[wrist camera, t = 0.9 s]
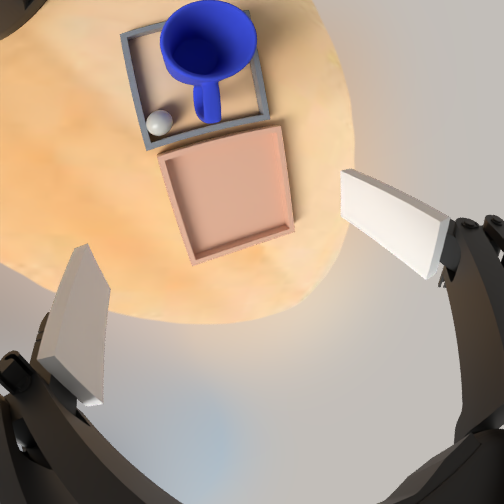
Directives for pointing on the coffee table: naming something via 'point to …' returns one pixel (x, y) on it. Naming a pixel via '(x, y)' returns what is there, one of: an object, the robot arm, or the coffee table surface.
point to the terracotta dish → (229, 192)
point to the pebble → (159, 122)
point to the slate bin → (151, 145)
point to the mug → (207, 50)
